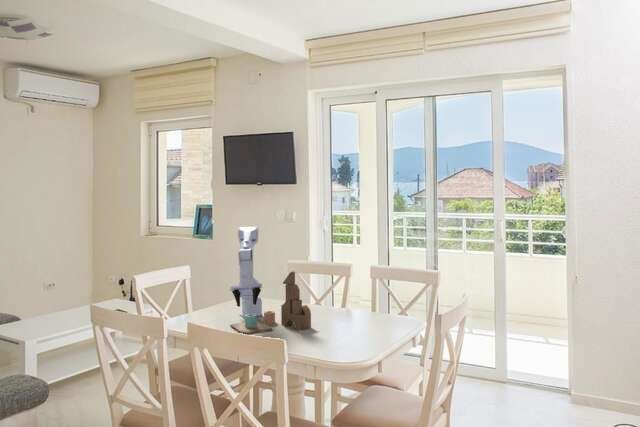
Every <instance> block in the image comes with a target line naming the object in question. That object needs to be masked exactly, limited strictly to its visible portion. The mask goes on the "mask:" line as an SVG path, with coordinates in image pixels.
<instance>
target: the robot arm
mask: <svg viewBox="0 0 640 427" xmlns="http://www.w3.org/2000/svg"><path fill="white" fill-rule="evenodd" d="M237 229H238V230H237V231H238V232H237V235H238V236H237V238H238V242H239V244H240V247H239V250H238V255H237V256H238V266H239V282H238V283H239V284H237V285H232V286H231V285H230V286H229V287H230V289H229V290H230V292H231V293H232V294H233V298H234V299H235V302H236V306H237V307H240V306H241V313H239V316H241V317H243V318H245V315H246V314H256V315H257V317H258V316H259V317H260V316H263V306H262V305H263V302H262V298H261V297H260V294H261V292H262V288H263V283H260V282H259V280H258V279H257V278H255V277H254V247H255V245H257V244H258V243H259V227H258V226H239V227H238V228H237Z"/></svg>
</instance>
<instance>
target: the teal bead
mask: <svg viewBox="0 0 640 427" xmlns="http://www.w3.org/2000/svg"><path fill="white" fill-rule="evenodd" d="M257 321H258V316H257V315H256V314H252V316H250V314H246V315H245V317H244V322H245V327H247V328H253V327H256V326H257Z"/></svg>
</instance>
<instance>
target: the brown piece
mask: <svg viewBox="0 0 640 427" xmlns="http://www.w3.org/2000/svg"><path fill="white" fill-rule="evenodd" d="M250 316H252V314H250ZM229 326H230V328H232V329H233V330H234V331H236V332H237V333H239V334H240V333H243V334H245V335H249V334H250V335H251V334H257V333H263V332H269V331H270V332H271V331H273V327H271V326H269V324H264V321H263V322H262V321H261V320H257V326H256V327H253V328H247V327H245V321H244V322H239V323H231V324H230V325H229Z"/></svg>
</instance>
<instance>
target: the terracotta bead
mask: <svg viewBox="0 0 640 427" xmlns="http://www.w3.org/2000/svg"><path fill="white" fill-rule="evenodd" d="M263 323H264V324H266V325H273V324H276V311H274V310H266V311H264V312H263Z"/></svg>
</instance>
